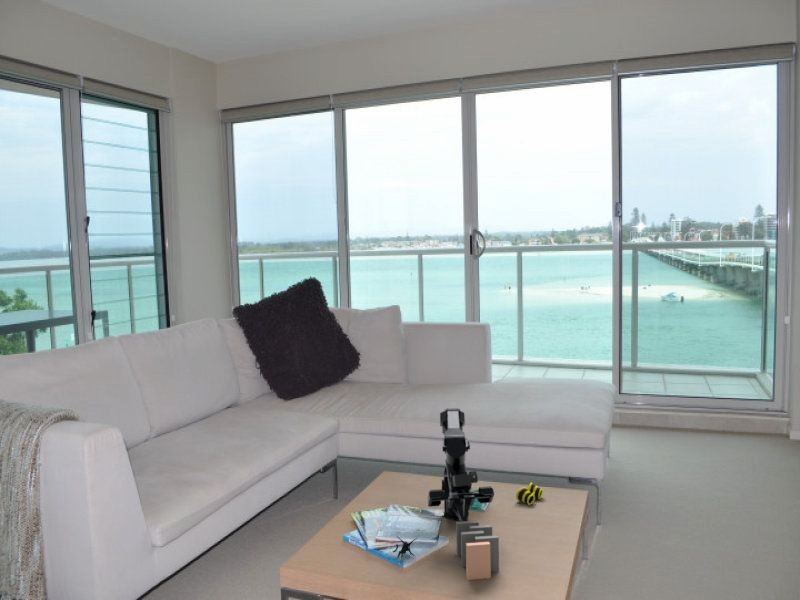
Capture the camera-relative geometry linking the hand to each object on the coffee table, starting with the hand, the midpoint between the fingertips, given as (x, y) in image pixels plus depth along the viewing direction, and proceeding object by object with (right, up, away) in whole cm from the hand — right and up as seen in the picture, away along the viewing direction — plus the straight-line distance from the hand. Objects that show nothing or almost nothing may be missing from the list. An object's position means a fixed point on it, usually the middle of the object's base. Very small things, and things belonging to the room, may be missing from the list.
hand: (465, 525), depth 183 cm
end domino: (+2, -8, -16) cm, 18 cm away
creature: (-17, -8, -4) cm, 20 cm away
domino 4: (+5, -8, -12) cm, 15 cm away
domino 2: (+1, -7, -3) cm, 7 cm away
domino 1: (+4, -7, -6) cm, 10 cm away
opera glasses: (+25, -4, +34) cm, 43 cm away
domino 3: (+1, -7, -9) cm, 12 cm away
